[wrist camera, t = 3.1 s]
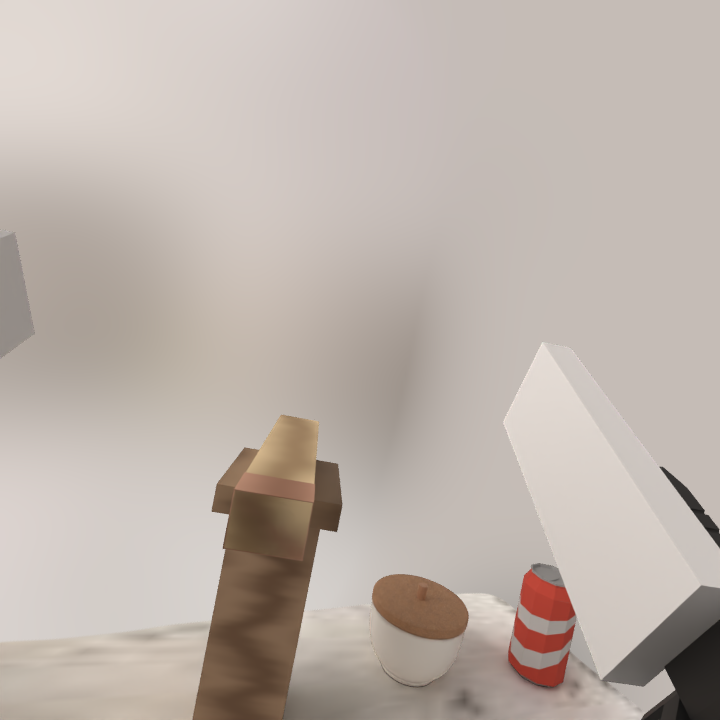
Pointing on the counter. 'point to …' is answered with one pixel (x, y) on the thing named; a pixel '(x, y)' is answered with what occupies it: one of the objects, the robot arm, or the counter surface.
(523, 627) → the beverage can
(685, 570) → the robot arm
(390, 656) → the lidded jar
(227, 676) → the walnut stand
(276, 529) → the tan wooden bar
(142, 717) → the counter surface
